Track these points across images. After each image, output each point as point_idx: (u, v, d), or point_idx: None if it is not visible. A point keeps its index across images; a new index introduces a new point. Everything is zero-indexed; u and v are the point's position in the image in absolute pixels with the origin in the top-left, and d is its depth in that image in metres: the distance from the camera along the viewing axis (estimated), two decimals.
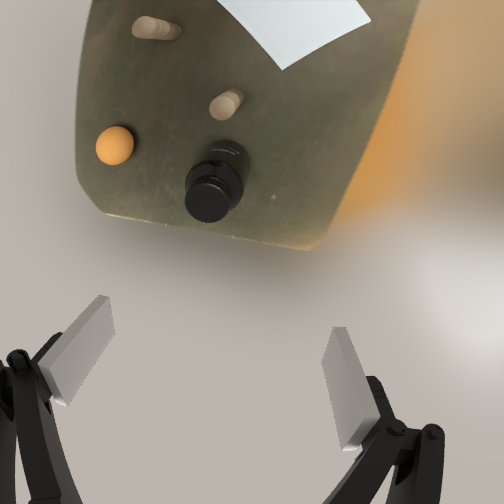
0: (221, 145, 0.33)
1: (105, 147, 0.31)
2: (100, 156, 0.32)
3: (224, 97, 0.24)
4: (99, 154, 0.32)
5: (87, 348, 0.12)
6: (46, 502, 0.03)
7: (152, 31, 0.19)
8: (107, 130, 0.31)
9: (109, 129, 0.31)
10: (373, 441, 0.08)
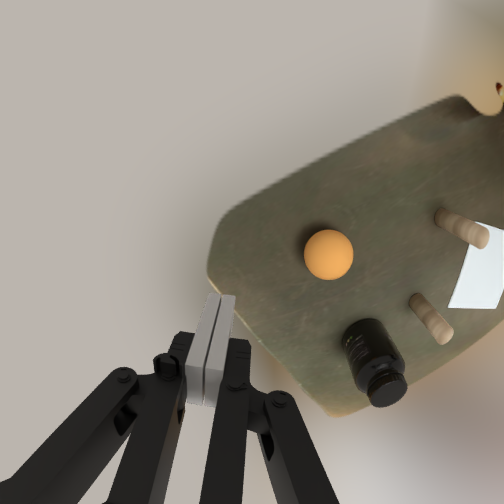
0: (388, 334, 0.34)
1: (339, 260, 0.28)
2: (322, 259, 0.28)
3: (452, 331, 0.27)
4: (324, 256, 0.28)
5: None
6: None
7: (481, 248, 0.23)
8: (346, 239, 0.29)
9: (348, 241, 0.29)
10: (217, 403, 0.09)
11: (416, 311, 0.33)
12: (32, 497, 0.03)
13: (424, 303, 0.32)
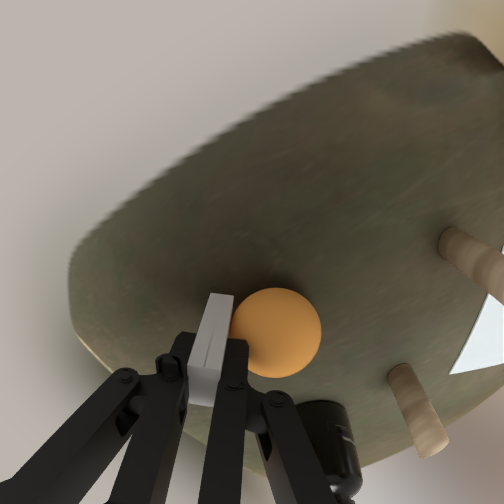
0: (347, 427, 0.20)
1: (317, 345, 0.15)
2: (292, 359, 0.14)
3: (448, 440, 0.13)
4: (295, 354, 0.14)
5: None
6: None
7: None
8: (306, 300, 0.16)
9: (307, 301, 0.16)
10: (215, 403, 0.09)
11: (395, 395, 0.19)
12: (33, 497, 0.03)
13: (410, 385, 0.18)
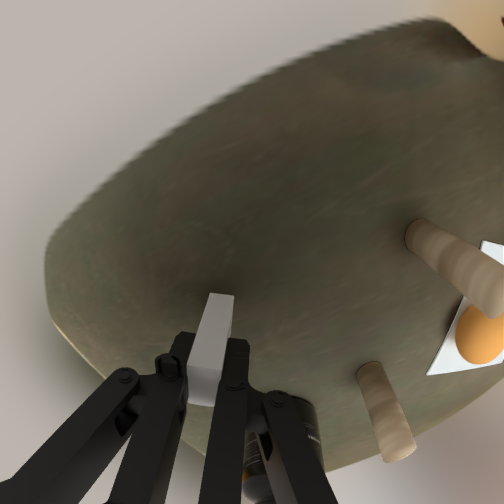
0: (312, 425, 0.20)
1: None
2: None
3: (415, 445, 0.13)
4: None
5: None
6: None
7: (495, 317, 0.09)
8: None
9: None
10: (216, 403, 0.09)
11: None
12: (33, 497, 0.03)
13: (378, 384, 0.19)
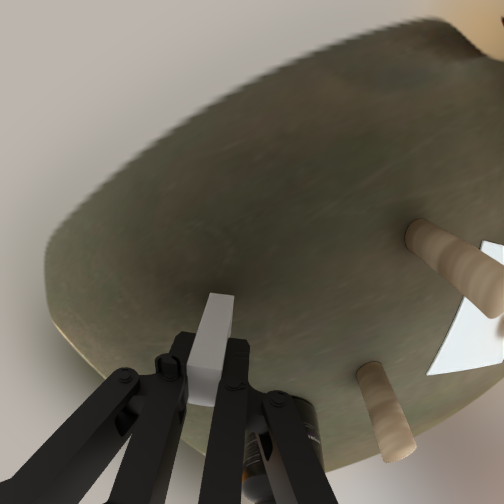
0: (312, 425, 0.20)
1: None
2: None
3: (415, 445, 0.13)
4: None
5: None
6: None
7: (495, 317, 0.09)
8: None
9: None
10: (216, 403, 0.09)
11: None
12: (33, 497, 0.03)
13: (378, 384, 0.19)
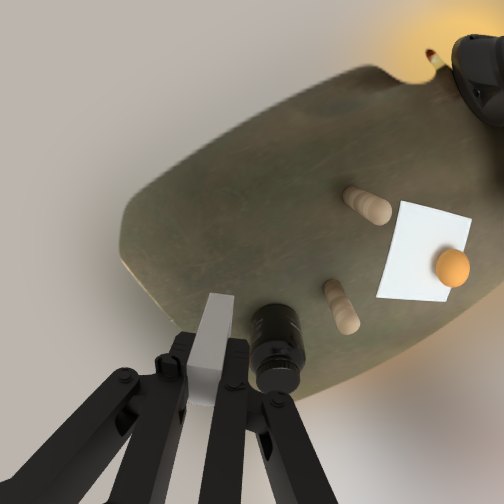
0: (295, 321, 0.36)
1: (453, 269, 0.31)
2: (442, 266, 0.32)
3: (358, 320, 0.28)
4: (444, 264, 0.32)
5: None
6: None
7: (380, 224, 0.25)
8: (464, 257, 0.30)
9: (465, 259, 0.30)
10: (215, 403, 0.09)
11: None
12: (32, 497, 0.03)
13: (335, 289, 0.34)
